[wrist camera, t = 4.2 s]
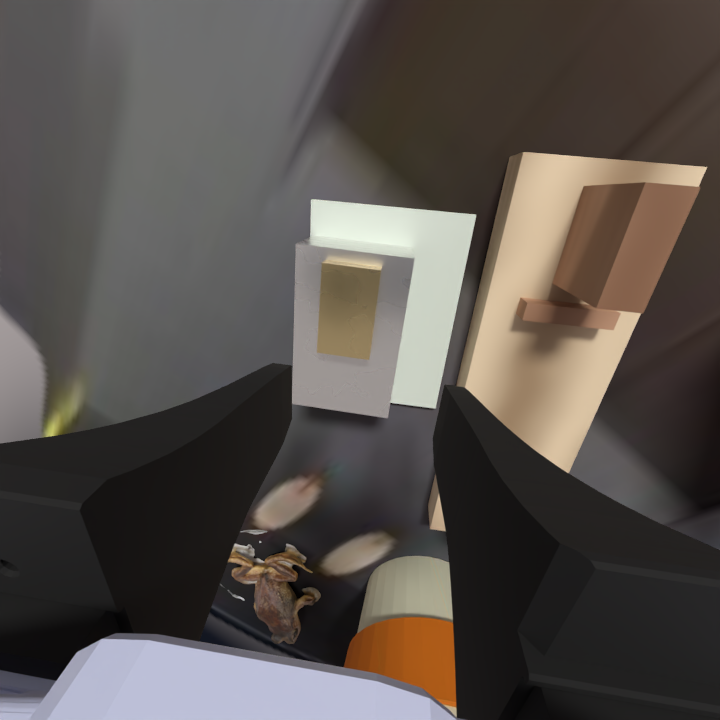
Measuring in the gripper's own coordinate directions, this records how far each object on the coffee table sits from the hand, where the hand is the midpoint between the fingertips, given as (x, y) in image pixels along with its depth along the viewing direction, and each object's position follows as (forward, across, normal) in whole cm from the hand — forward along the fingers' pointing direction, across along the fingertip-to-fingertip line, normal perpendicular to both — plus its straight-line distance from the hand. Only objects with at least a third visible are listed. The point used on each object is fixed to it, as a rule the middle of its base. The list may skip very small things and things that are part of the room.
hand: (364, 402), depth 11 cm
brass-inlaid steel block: (+9, +1, 0) cm, 9 cm away
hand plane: (+9, -8, +3) cm, 13 cm away
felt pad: (+9, 0, 0) cm, 9 cm away
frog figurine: (+10, +7, +25) cm, 28 cm away
